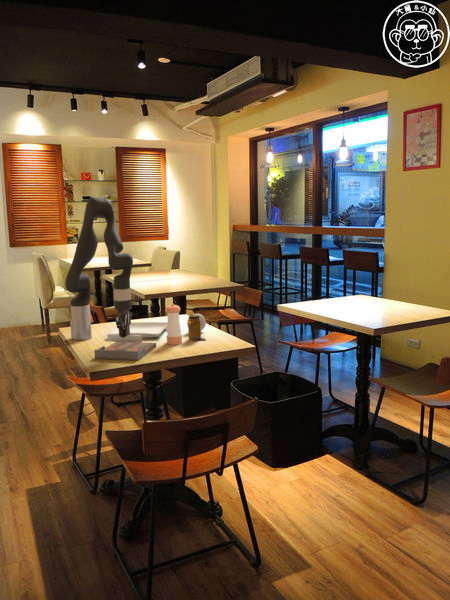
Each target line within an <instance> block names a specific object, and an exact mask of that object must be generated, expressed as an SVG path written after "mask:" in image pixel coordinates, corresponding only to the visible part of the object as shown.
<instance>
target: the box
mask: <svg viewBox="0 0 450 600" xmlns="http://www.w3.org/2000/svg"><path fill="white" fill-rule="evenodd" d="M105 348H106V346H105V345H103V346H101V347H99V348H97V349H94V359H95V360H112V361H113V360H114V361H116V360H117V361H135V362H137V361H139V360H141V359H143V358H144V357H145V356H146V355H145V348H144V347H143V348H142V349H141V350H139V351H122V350H105Z"/></svg>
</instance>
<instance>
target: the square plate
mask: <svg viewBox="0 0 450 600" xmlns="http://www.w3.org/2000/svg"><path fill="white" fill-rule="evenodd" d="M167 324H168V321H167V322H166V321H165V322H164V321H163V322H161V321H159V322H156V321H149V322H148V321H144V322H143V321H142V322H139V321H138V322H131V324H130V335H142V339H152V338H158V337H159V336H160V335H161V334H162V333H163V332H164V331H165V330H167ZM108 334H119V329H117V326H115V327H114V328H113V329H112V330H110V331H109V332H108V333H107V335H108Z"/></svg>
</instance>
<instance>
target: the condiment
mask: <svg viewBox="0 0 450 600" xmlns="http://www.w3.org/2000/svg"><path fill="white" fill-rule="evenodd" d="M188 318H189V321H188V320H187V321H188V326H187V327H188V329H187V330H188V331H187V332H188V337H187V338H186V339H187V340H188V342H197V341H207V339H206V338H205V337H204V336H201V335H202V333H201V332H202V331H201V327H200V319H199V316H198V315H193V314H191V315H189V316H188Z"/></svg>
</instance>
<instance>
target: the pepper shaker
mask: <svg viewBox="0 0 450 600" xmlns="http://www.w3.org/2000/svg"><path fill="white" fill-rule="evenodd" d="M165 312H166V313H167V322H168V324H167V328H166V344H167V345H172V346H173V345H180V344H182V343H183V341H182V339H183V338H182V328H181V325H180V324H181V323H180V312H181V307H180V306H179V305H177V304H174V303H171V304H170V305H168V306H166V308H165Z"/></svg>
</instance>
